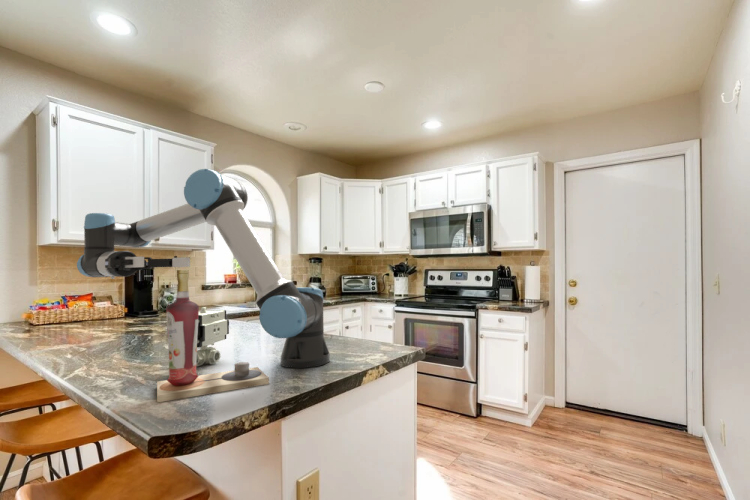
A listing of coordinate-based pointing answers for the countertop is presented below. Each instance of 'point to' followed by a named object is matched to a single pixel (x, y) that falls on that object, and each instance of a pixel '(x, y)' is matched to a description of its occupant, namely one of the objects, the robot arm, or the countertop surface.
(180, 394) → the board
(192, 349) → the liquor
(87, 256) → the robot arm
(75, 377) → the countertop surface
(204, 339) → the ball valve
